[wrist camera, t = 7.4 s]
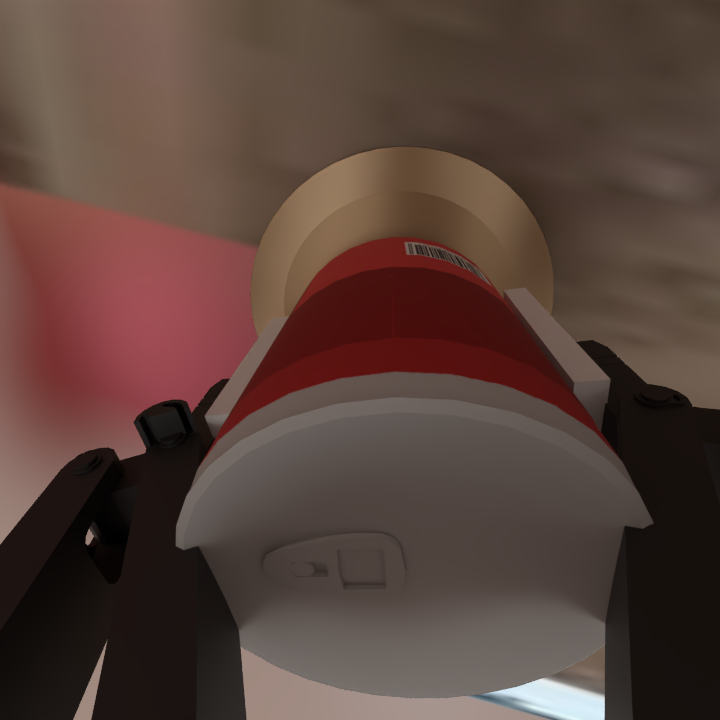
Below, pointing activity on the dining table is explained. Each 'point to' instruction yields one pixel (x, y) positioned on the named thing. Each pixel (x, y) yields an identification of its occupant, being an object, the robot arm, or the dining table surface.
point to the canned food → (411, 489)
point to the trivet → (399, 224)
